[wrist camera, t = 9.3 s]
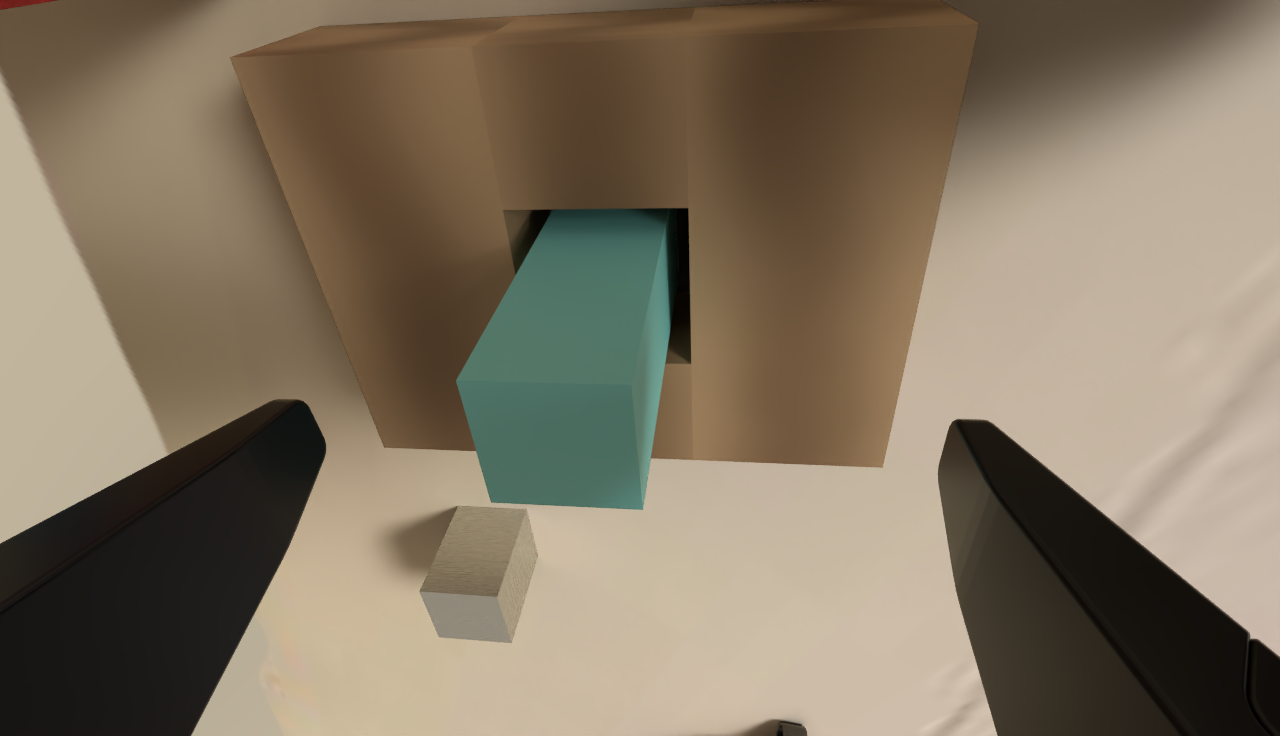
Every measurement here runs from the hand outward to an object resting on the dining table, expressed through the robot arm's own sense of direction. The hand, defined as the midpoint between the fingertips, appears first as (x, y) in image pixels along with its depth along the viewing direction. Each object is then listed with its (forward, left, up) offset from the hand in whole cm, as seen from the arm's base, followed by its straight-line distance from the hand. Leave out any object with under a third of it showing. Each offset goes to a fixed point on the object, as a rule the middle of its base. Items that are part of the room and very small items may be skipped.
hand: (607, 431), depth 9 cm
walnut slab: (+2, +2, -12) cm, 13 cm away
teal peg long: (+2, +3, -12) cm, 13 cm away
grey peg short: (+9, +17, -12) cm, 23 cm away
